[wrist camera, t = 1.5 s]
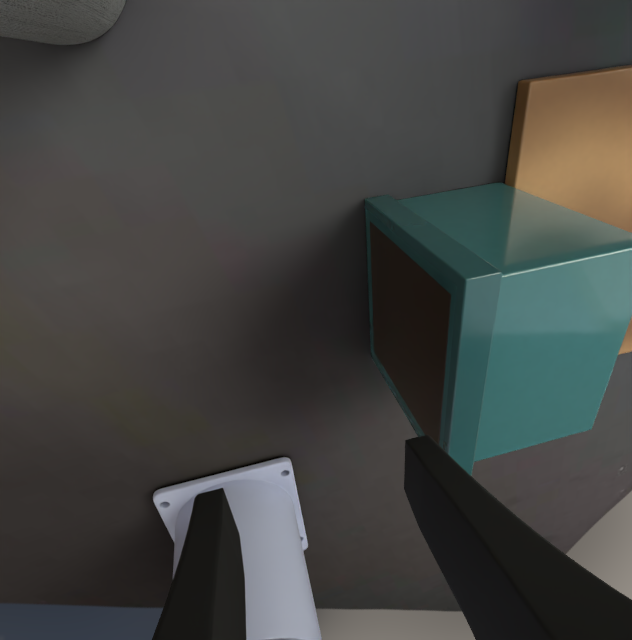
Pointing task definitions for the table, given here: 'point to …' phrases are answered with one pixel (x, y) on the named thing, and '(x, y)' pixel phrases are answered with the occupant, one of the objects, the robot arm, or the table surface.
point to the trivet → (577, 145)
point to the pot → (495, 315)
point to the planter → (58, 19)
